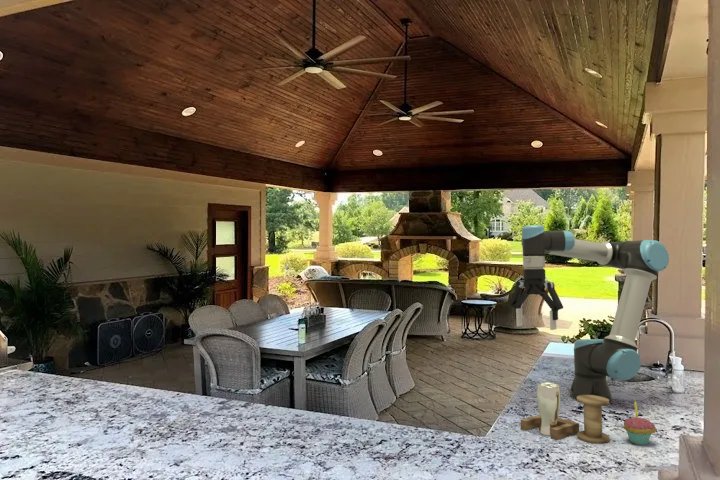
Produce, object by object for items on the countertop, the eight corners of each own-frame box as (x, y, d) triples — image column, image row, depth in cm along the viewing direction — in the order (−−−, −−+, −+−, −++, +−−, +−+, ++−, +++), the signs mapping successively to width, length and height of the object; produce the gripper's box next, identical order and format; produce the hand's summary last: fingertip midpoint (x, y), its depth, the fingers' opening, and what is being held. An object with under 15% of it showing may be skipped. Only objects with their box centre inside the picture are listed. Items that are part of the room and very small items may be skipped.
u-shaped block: (543, 422, 178) (543, 413, 178) (579, 432, 168) (579, 423, 168) (520, 429, 171) (520, 419, 171) (556, 440, 161) (556, 430, 161)
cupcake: (617, 437, 163) (617, 397, 164) (644, 437, 164) (643, 397, 165) (634, 447, 155) (633, 405, 155) (662, 446, 156) (661, 405, 156)
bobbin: (587, 432, 169) (587, 393, 169) (615, 439, 161) (614, 399, 162) (571, 437, 163) (570, 397, 164) (599, 445, 156) (598, 403, 157)
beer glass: (562, 437, 163) (562, 387, 164) (538, 435, 165) (538, 386, 165) (558, 430, 170) (558, 382, 171) (535, 429, 171) (535, 381, 172)
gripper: (498, 268, 199) (500, 325, 199) (560, 268, 180) (562, 332, 179) (510, 268, 204) (512, 324, 203) (572, 268, 185) (574, 329, 184)
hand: (536, 328), depth 191 cm, fingers open, 13 cm apart
